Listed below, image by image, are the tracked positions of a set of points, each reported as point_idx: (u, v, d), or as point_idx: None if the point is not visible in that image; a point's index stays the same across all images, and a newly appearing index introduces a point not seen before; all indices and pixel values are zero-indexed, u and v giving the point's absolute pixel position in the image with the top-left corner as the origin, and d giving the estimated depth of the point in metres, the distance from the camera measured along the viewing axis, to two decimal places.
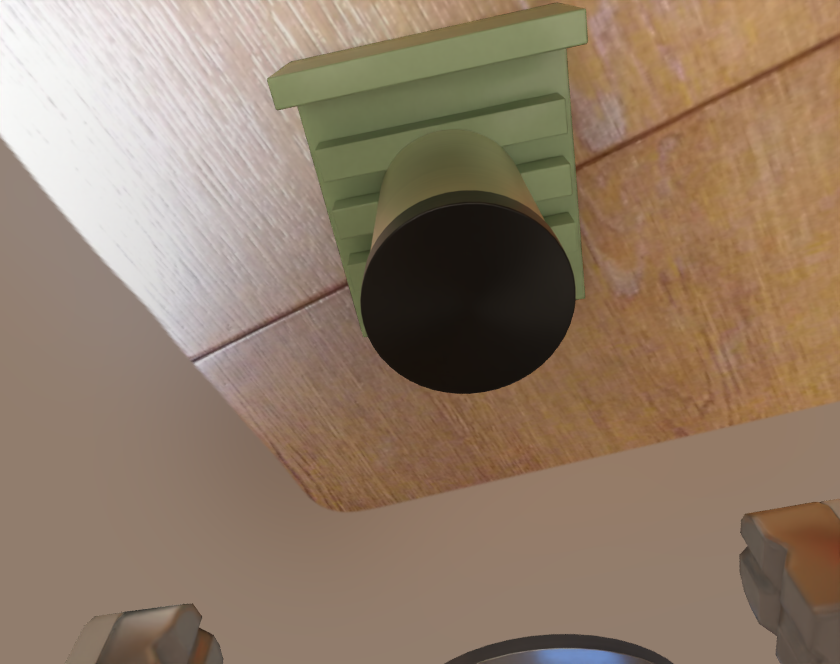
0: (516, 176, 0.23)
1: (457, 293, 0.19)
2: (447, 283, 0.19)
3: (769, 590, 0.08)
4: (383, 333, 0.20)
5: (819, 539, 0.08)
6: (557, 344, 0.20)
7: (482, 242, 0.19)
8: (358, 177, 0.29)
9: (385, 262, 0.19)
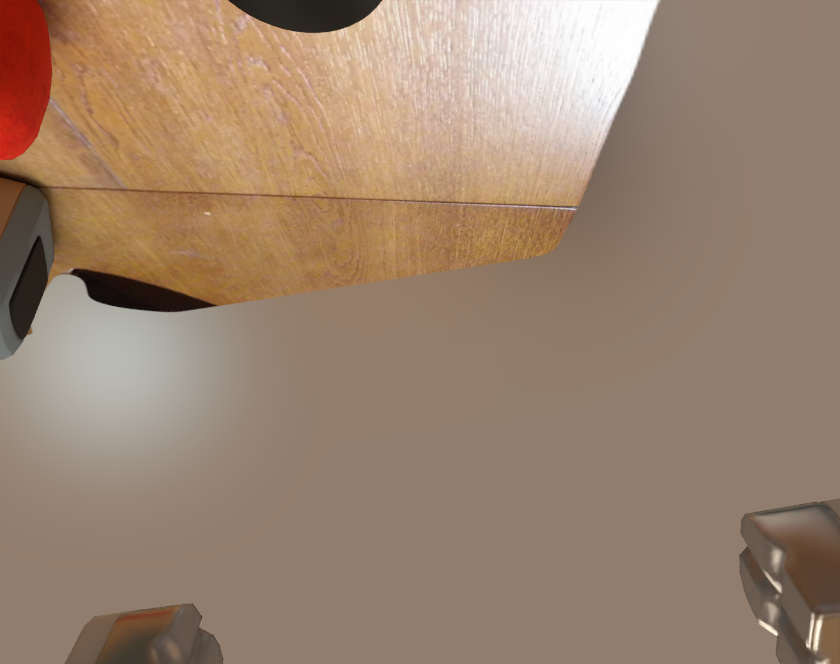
0: None
1: None
2: None
3: (769, 590, 0.08)
4: None
5: (819, 539, 0.08)
6: None
7: None
8: None
9: (347, 16, 0.23)
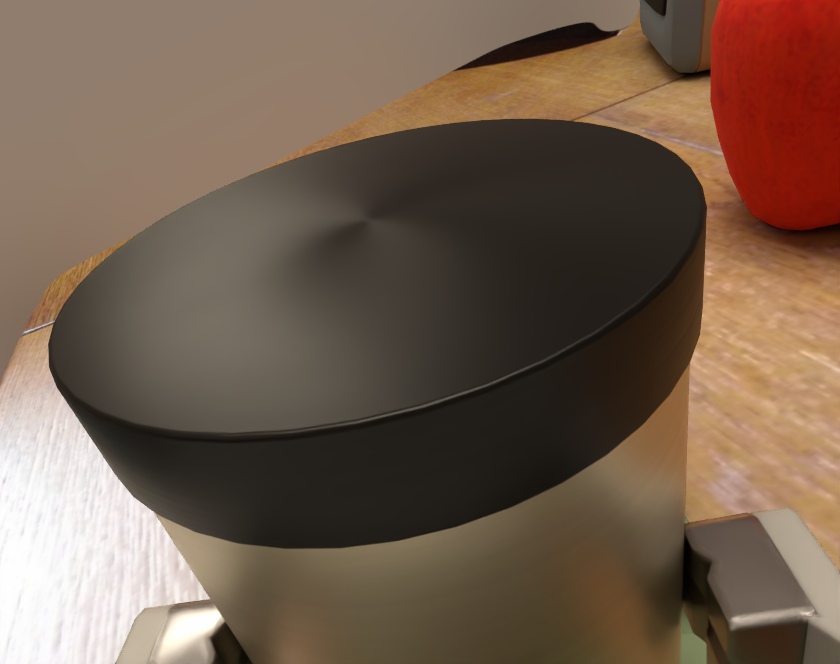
0: None
1: (347, 207, 0.07)
2: (329, 200, 0.08)
3: (699, 600, 0.08)
4: (109, 292, 0.07)
5: (744, 551, 0.08)
6: (681, 243, 0.05)
7: (424, 150, 0.09)
8: None
9: (214, 199, 0.09)
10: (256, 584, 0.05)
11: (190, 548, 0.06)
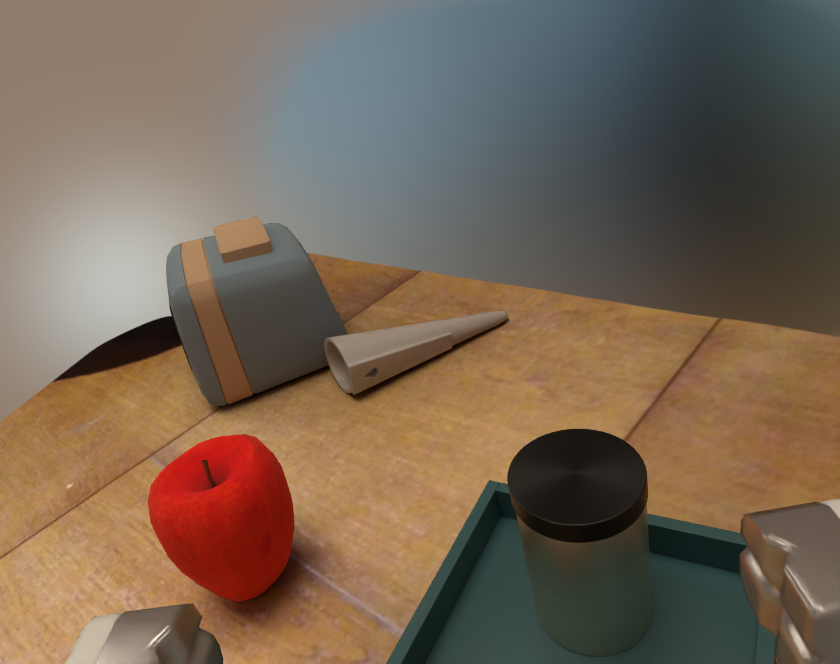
0: None
1: (567, 466, 0.32)
2: (560, 462, 0.32)
3: (769, 589, 0.08)
4: (520, 489, 0.31)
5: (819, 539, 0.08)
6: (641, 490, 0.29)
7: (579, 443, 0.33)
8: None
9: (524, 454, 0.33)
10: (564, 550, 0.30)
11: (548, 544, 0.30)
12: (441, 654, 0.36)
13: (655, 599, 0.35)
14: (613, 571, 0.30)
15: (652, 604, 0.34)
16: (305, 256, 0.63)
